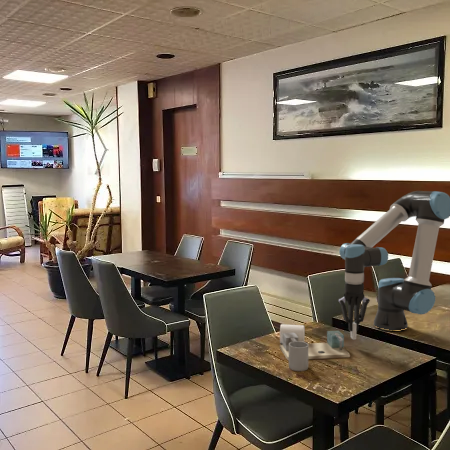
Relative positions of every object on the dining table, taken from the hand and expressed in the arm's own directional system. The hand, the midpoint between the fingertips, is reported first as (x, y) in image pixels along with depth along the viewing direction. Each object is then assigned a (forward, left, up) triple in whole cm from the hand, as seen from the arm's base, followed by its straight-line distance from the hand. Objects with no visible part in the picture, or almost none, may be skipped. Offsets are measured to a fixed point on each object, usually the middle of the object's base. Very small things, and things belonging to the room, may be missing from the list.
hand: (353, 338), depth 201 cm
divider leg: (+8, +2, -3) cm, 8 cm away
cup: (+28, +16, -4) cm, 33 cm away
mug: (+23, -11, -4) cm, 26 cm away
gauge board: (+18, +3, -4) cm, 18 cm away
